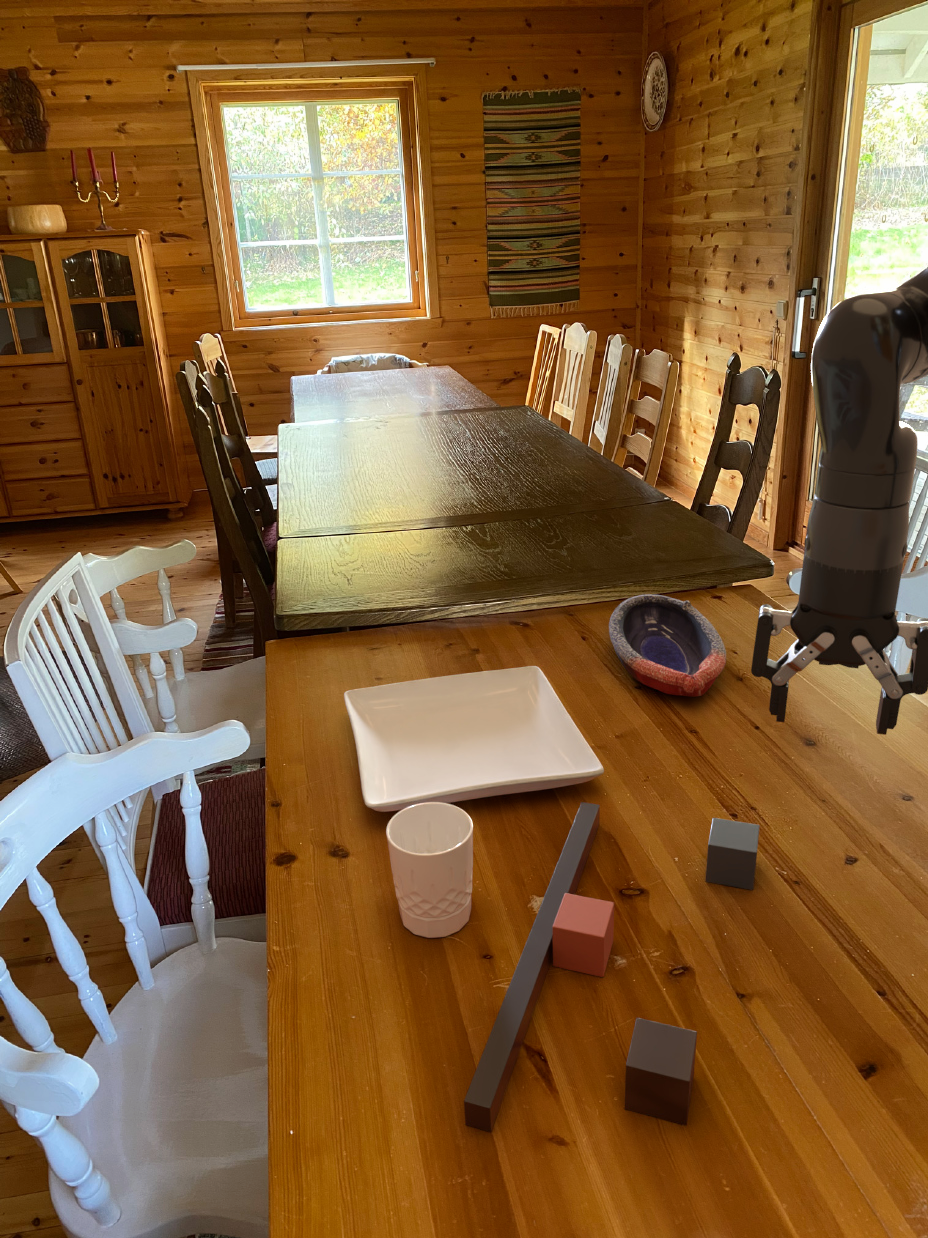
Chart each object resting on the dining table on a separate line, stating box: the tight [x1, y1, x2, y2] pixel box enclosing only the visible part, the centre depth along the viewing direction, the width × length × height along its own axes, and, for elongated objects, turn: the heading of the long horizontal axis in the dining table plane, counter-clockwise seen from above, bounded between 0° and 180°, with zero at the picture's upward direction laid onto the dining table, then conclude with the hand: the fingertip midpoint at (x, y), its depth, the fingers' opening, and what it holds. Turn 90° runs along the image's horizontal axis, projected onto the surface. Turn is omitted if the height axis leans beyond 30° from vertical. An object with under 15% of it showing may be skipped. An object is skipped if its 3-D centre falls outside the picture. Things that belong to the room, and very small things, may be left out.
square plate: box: [343, 665, 605, 813], centre depth 112 cm, size 27×27×4 cm
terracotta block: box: [552, 893, 615, 978], centre depth 81 cm, size 4×4×4 cm
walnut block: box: [623, 1017, 698, 1126], centre depth 68 cm, size 4×4×4 cm
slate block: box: [704, 817, 760, 891], centre depth 90 cm, size 4×4×4 cm
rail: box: [463, 801, 601, 1133], centre depth 82 cm, size 2×38×2 cm, turn 160°
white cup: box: [385, 802, 474, 939], centre depth 85 cm, size 8×8×10 cm
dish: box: [608, 594, 727, 697], centre depth 132 cm, size 16×31×5 cm, turn 179°
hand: (829, 723), depth 81 cm, fingers open, 8 cm apart
